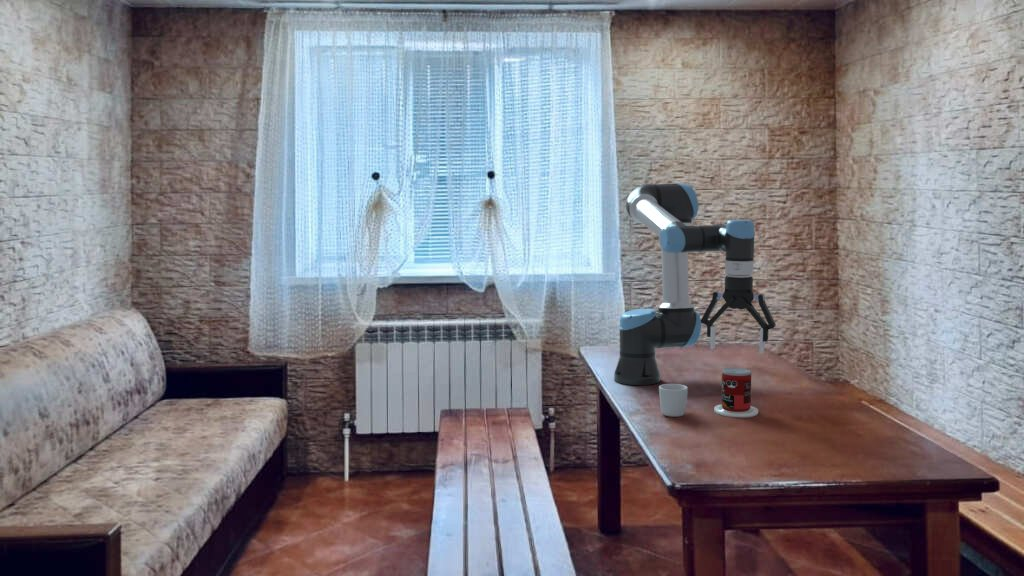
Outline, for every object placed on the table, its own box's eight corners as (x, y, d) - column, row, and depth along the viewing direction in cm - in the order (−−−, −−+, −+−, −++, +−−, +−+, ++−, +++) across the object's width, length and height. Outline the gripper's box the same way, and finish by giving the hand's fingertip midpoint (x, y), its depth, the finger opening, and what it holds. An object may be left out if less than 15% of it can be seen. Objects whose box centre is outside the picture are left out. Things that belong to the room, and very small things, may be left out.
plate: (709, 414, 230) (709, 411, 229) (719, 404, 240) (720, 401, 240) (753, 419, 224) (753, 416, 224) (761, 409, 234) (762, 406, 234)
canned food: (717, 405, 235) (718, 368, 234) (744, 404, 236) (745, 367, 235) (726, 412, 228) (727, 374, 226) (754, 411, 228) (755, 373, 227)
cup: (669, 407, 238) (669, 380, 237) (695, 411, 233) (696, 383, 232) (653, 416, 229) (654, 387, 228) (680, 420, 224) (681, 391, 223)
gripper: (690, 274, 230) (689, 349, 233) (783, 279, 218) (780, 357, 221) (698, 272, 236) (696, 344, 239) (788, 276, 225) (785, 352, 228)
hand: (736, 350), depth 230 cm, fingers open, 13 cm apart
